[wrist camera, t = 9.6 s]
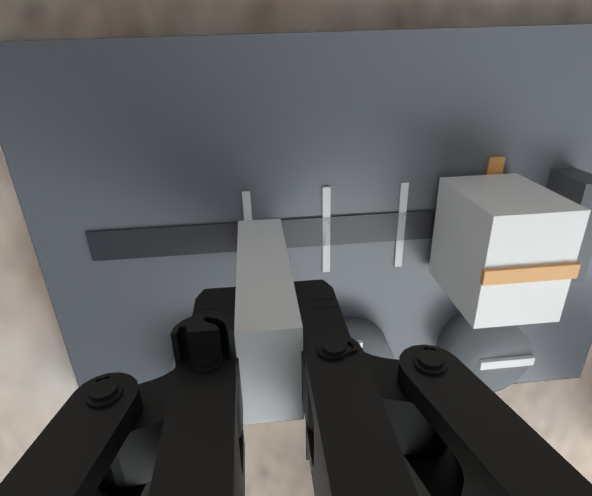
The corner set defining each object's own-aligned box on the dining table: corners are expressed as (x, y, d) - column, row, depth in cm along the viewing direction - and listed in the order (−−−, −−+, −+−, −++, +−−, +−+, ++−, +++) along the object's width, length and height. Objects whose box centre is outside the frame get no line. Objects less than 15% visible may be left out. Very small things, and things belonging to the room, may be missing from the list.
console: (103, 392, 22) (75, 461, 18) (1, 42, 15) (-76, 42, 11) (554, 351, 24) (609, 407, 20) (650, 22, 17) (759, 17, 13)
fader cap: (427, 271, 18) (474, 331, 14) (438, 177, 16) (494, 218, 13) (499, 266, 18) (563, 324, 15) (517, 173, 16) (596, 211, 13)
